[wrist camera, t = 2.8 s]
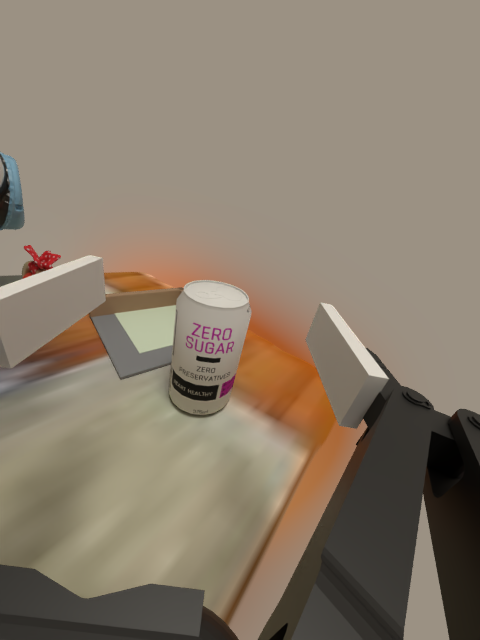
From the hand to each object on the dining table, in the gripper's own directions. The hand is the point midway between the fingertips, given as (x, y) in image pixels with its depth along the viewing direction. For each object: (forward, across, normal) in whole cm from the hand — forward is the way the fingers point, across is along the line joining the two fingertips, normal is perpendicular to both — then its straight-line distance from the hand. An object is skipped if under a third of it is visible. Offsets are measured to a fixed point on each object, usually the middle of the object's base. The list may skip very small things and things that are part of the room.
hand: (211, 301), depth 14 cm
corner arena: (+23, -10, -18) cm, 31 cm away
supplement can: (+10, 0, -19) cm, 21 cm away
